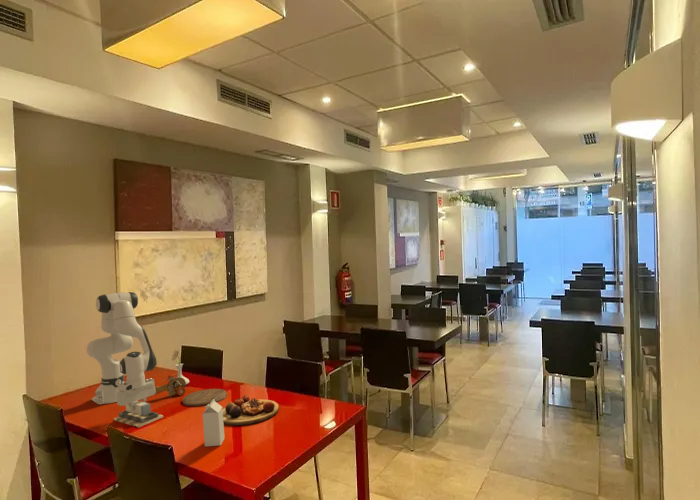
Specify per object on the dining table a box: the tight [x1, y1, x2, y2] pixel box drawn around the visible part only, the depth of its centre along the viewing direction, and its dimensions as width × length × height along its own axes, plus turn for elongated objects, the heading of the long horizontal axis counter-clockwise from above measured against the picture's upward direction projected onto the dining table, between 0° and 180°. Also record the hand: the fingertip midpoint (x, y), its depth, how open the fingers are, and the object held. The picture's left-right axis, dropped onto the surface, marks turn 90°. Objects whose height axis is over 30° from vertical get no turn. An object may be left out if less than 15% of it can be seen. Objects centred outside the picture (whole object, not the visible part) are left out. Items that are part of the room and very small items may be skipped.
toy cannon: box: [154, 372, 187, 397], centre depth 264 cm, size 8×21×14 cm, turn 123°
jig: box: [113, 409, 164, 428], centre depth 231 cm, size 23×14×3 cm, turn 58°
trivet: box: [182, 388, 228, 408], centre depth 257 cm, size 25×25×2 cm
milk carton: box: [202, 399, 225, 447], centre depth 196 cm, size 7×7×19 cm
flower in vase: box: [171, 348, 190, 386], centre depth 284 cm, size 13×11×25 cm
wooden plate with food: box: [223, 394, 280, 426], centre depth 229 cm, size 32×32×8 cm
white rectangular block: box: [125, 400, 152, 416], centre depth 231 cm, size 16×4×5 cm, turn 58°
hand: (138, 408), depth 231 cm, fingers closed on white rectangular block, 4 cm apart
